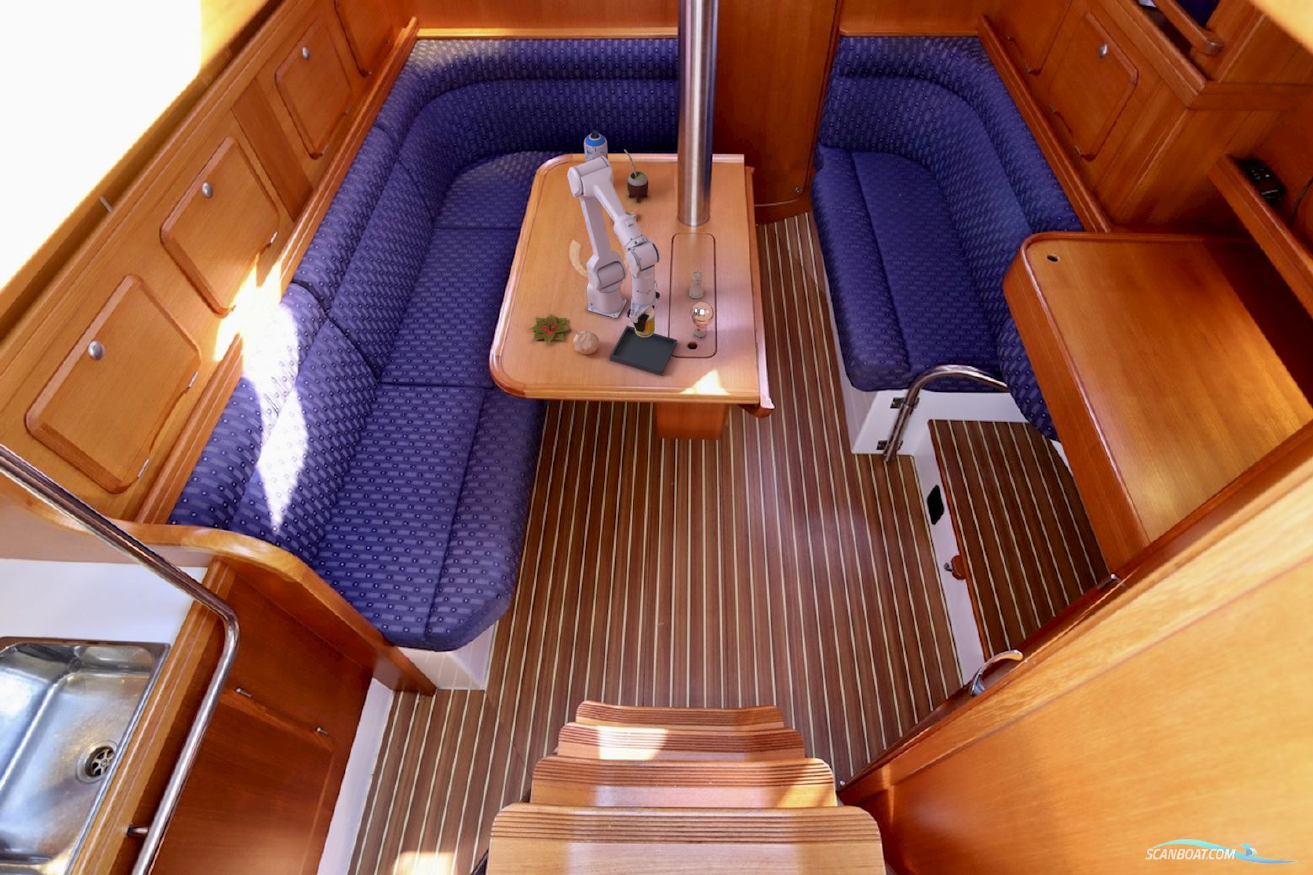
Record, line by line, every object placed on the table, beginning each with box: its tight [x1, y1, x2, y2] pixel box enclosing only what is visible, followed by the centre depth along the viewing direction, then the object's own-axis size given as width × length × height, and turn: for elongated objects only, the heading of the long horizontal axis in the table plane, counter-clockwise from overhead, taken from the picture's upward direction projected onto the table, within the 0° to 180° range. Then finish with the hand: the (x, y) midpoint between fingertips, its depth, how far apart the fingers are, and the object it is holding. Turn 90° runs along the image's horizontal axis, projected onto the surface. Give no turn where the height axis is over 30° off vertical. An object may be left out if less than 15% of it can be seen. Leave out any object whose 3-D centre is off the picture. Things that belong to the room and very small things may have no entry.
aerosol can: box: [583, 129, 609, 162], centre depth 213 cm, size 8×8×20 cm
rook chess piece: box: [688, 270, 704, 300], centre depth 190 cm, size 4×4×8 cm
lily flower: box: [530, 314, 571, 345], centre depth 183 cm, size 12×12×5 cm
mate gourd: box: [623, 148, 649, 203], centre depth 213 cm, size 8×8×15 cm
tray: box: [609, 325, 678, 377], centre depth 179 cm, size 15×12×2 cm
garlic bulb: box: [572, 330, 600, 355], centre depth 177 cm, size 7×6×8 cm
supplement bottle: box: [635, 306, 656, 337], centre depth 171 cm, size 5×5×10 cm
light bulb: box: [688, 300, 715, 338], centre depth 179 cm, size 7×7×12 cm
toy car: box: [625, 210, 638, 221], centre depth 211 cm, size 4×8×3 cm, turn 103°
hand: (644, 323), depth 173 cm, fingers closed on supplement bottle, 5 cm apart
